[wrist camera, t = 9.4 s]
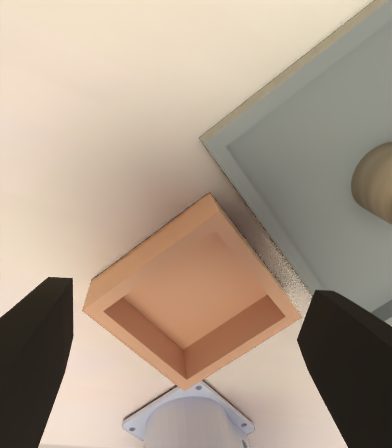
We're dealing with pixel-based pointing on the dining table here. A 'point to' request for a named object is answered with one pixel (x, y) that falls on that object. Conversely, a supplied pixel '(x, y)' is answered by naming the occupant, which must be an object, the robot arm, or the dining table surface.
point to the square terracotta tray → (191, 296)
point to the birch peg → (375, 182)
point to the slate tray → (320, 159)
